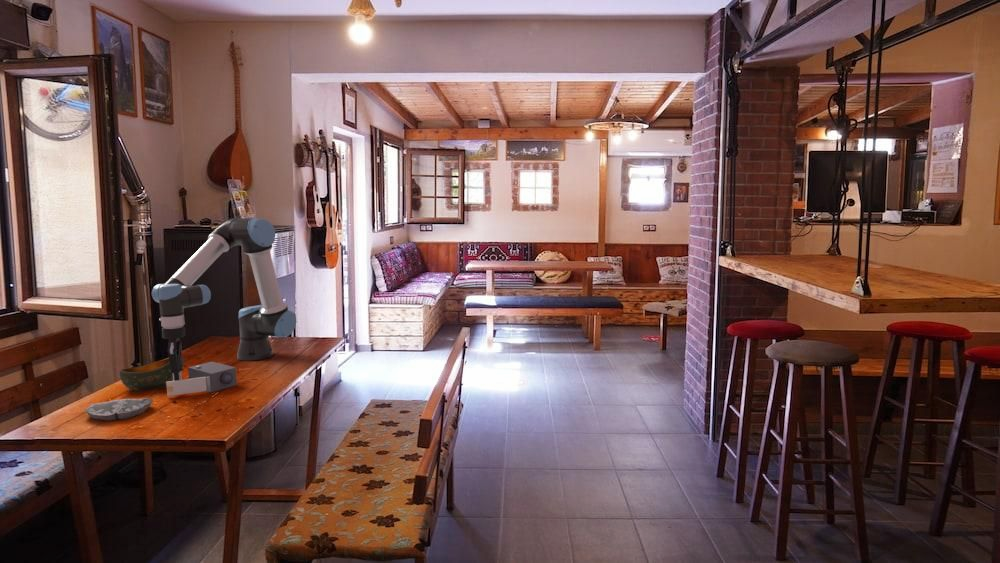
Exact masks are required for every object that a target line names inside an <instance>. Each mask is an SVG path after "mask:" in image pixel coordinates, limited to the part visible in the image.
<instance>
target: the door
mask: <svg viewBox="0 0 1000 563" xmlns="http://www.w3.org/2000/svg"><path fill="white" fill-rule="evenodd" d="M206 380H207V388H206ZM166 386H167V387H166V393H167V396H166V397H171V396H177V395H185V394H186V395H187V394H193V393H200V392H207V393H211V386H210V376H207V377H200V378H192V379H189V378H185V379H182V380H176V381H168V382H166Z"/></svg>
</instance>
